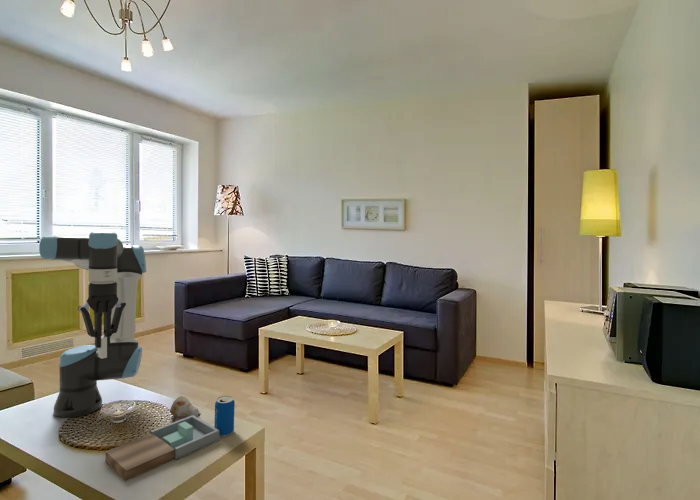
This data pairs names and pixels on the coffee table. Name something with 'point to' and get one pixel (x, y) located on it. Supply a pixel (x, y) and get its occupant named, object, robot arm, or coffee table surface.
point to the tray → (201, 435)
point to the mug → (183, 408)
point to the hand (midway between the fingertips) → (102, 357)
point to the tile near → (175, 439)
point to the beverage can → (224, 415)
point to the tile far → (186, 430)
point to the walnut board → (139, 456)
